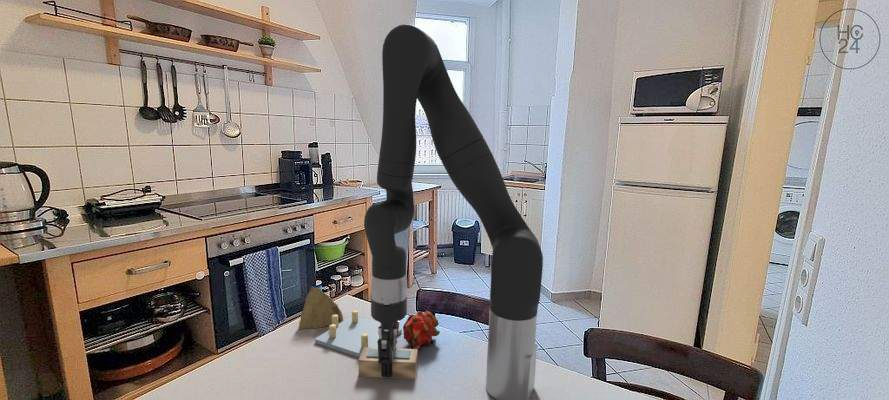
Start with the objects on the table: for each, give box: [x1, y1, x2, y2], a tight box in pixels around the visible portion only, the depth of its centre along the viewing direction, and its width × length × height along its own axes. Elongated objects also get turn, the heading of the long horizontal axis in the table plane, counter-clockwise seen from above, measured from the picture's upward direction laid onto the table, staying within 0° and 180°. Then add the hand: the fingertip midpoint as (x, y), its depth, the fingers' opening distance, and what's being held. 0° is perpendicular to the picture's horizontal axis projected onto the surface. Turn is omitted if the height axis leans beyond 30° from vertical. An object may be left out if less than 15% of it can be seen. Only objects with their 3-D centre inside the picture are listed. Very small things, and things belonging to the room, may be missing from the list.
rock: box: [297, 286, 344, 330], centre depth 101 cm, size 11×9×10 cm
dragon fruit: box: [402, 310, 441, 350], centre depth 93 cm, size 8×8×12 cm
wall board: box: [314, 309, 403, 358], centre depth 96 cm, size 17×14×4 cm
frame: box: [357, 347, 419, 380], centre depth 83 cm, size 12×5×4 cm, turn 88°
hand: (388, 367), depth 83 cm, fingers closed on frame, 5 cm apart
